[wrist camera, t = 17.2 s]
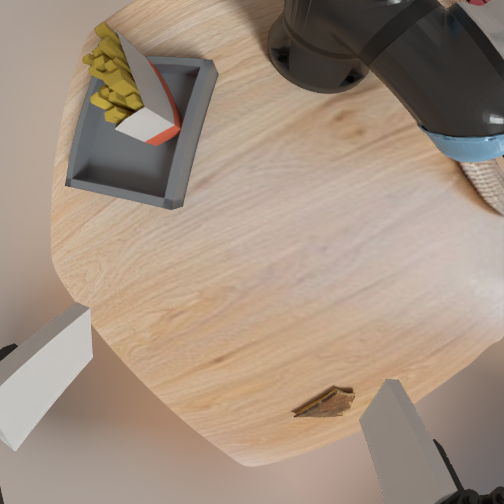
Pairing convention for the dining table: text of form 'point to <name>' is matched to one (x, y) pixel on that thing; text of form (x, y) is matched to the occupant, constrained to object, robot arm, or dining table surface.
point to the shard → (329, 405)
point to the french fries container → (132, 90)
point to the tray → (138, 152)
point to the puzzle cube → (478, 2)
